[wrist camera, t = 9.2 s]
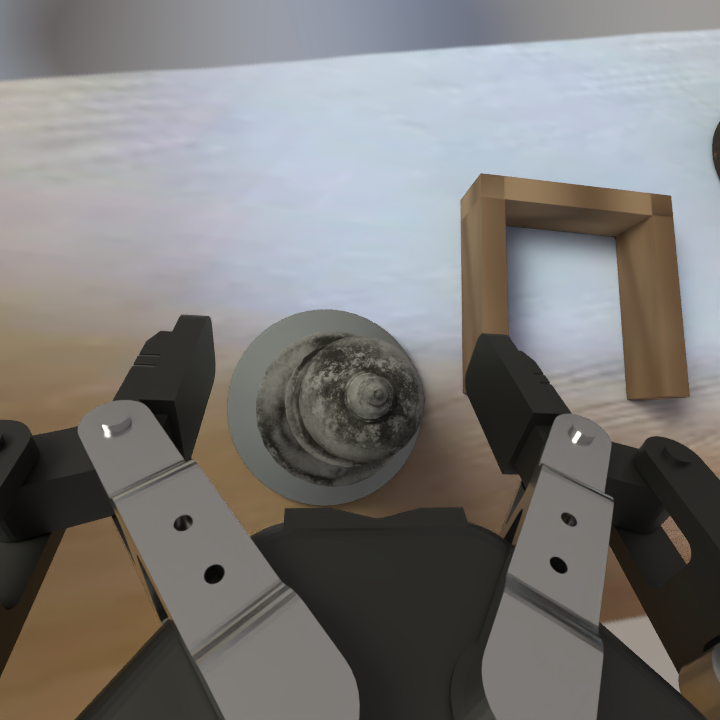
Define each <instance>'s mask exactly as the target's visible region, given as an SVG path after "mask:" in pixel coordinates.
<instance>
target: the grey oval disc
mask: <svg viewBox="0 0 720 720" xmlns="http://www.w3.org/2000/svg"><path fill="white" fill-rule="evenodd" d="M325 331H343V332H348V333H354V334H358V335H360V336H367V337H372V338H378V339H381V340H383V341H386V342H388V343H390V344H392V345H394V346H395V347H397V348H398V349H399V350H400V351H401V352H403V353H404V354H405V355H406V356H407V354H406V352H405V351H404V349H403V348H402V347H401V346H400V344H399V343H398V342H397V341H396V340H395V339H394V338H393V337H392V336H391V335H390V334H389V333H388V332H387V331H385V330H384V329H383V328H381V327H380V326H379V325H377V324H375V323H373V322H372V321H370V320H368V319H366V318H363V317H361V316H358V315H356V314H352V313H349V312H345V311H338V310H313V311H306V312H302V313H298V314H294V315H292V316H290V317H287V318H285V319H282V320H281V321H279V322H277V323H275V324H273V325H272V326H270V327H269V328H268V329H266V330H265V331H264V332H262V333H261V334H260V335H259V336H258V337H257V338H256V339H255V340H254V341H253V342H252V343H251V345H250V346H249V347H248V348H247V350H246V351H245V352H244V354H243V356H242V357H241V359H240V361H239V362H238V364H237V366H236V369H235V371H234V373H233V376H232V380H231V383H230V387H229V393H228V400H227V416H228V423H229V429H230V433H231V437H232V440H233V443H234V445H235V447H236V450H237V452H238V454H239V456H240V457H241V459H242V460H243V462H244V464H245V465H246V466H247V468H248V469H249V470H250V471H251V473H252V474H253V475H254V476H255V477H256V478H257V479H258V480H259V481H260V482H262V483H263V484H264V485H265V486H267V487H268V488H270V489H271V490H272V491H274V492H276V493H278V494H280V495H282V496H284V497H285V498H288V499H291V500H294V501H297V502H300V503H305V504H310V505H324V506H325V505H338V504H343V503H348V502H352V501H354V500H357V499H360V498H363V497H365V496H367V495H369V494H371V493H373V492H374V491H376V490H377V489H379V488H380V487H382V486H383V485H385V484H386V483H387V482H388V481H389V480H390V479H391V478H392V477H393V476H395V474H396V473H397V472H398V471H399V470H400V469H401V467H402V466H403V465H404V463H405V462H406V460H407V459H408V457H409V455H410V453H411V451H412V449H413V447H414V445H415V443H416V440H417V437H418V434H419V430H420V425H419V427H418V430H417V432H416V433H415V435H414V436H413V437H412V439H411V440H410V441H409V443H408V444H407V445H406V446H405V447H403V448H402V449H401V450H400V451H398V452H397V453H396V454H395V455H394V457H393V458H392V460H391V461H390V462H389V463H388V464H387V465H386V466H385V467H383V468H382V469H381V470H380V471H378V472H377V473H376V474H375V475H373V476H372V477H369V478H367V479H365V480H362V481H360V482H358V483H355V484H352V485H345V486H338V487H328V486H321V485H313V484H310V483H308V482H306V481H303V480H301V479H299V478H296V477H294V476H292V475H291V474H290V473H289V472H287V471H286V470H285V469H284V468H282V467H281V466H280V465H279V464H277V463H276V461H275V460H274V458H273V457H272V456H271V454H270V453H269V451H268V450H267V449H266V447H265V446H264V443H263V440H262V438H261V435H260V432H259V429H258V427H257V417H256V400H257V395H258V389H259V384H260V382H261V380H262V378H263V376H264V374H265V372H266V370H267V368H268V366H269V364H270V363H271V362H272V361H273V360H274V359H275V358H276V356H277V355H278V354H279V353H280V352H281V351H282V350H283V349H284V348H286V347H287V346H289V345H290V344H292V343H293V342H295V341H296V340H298V339H299V338H302V337H305V336H308V335H311V334H314V333H316V332H325ZM407 357H408V356H407ZM408 358H409V357H408ZM409 360H410V359H409ZM410 361H411V360H410ZM420 424H421V422H420Z"/></svg>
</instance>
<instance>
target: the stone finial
mask: <svg viewBox="0 0 720 720" xmlns="http://www.w3.org/2000/svg"><path fill="white" fill-rule="evenodd" d="M424 401H425V400H424V393H423V385H422V382H421V380H420V377H419V375H418V372H417V370H416V368H415V367H414V365H413V364H412V363H411V361H410V360H409V358H408V357H407V356H406V355H405V354H404V353H403V352H401V351H400V350H399V349H398V348H397V347H395V346H394V345H392V344H390V343H388V342H386V341H383V340H381V339H378V338H372V337H367V336H360V335H358V334H354V333H348V332H343V331H325V332H316V333H314V334H311V335H308V336H305V337H302V338H299V339H298V340H296V341H295V342H293V343H292V344H290V345H289V346H287V347H286V348H284V349H283V350H282V351H281V352H280V353H279V354H278V355H277V356H276V358H275V359H274V360H273V361H272V362H271V363H270V364H269V366H268V368H267V370H266V372H265V374H264V376H263V378H262V380H261V382H260V384H259V389H258V395H257V400H256V417H257V427H258V429H259V432H260V435H261V438H262V440H263V443H264V446H265V447H266V449H267V450H268V451H269V453H270V454H271V456H272V457H273V458H274V460H275V461H276V463H277V464H279V465H280V466H281V467H282V468H284V469H285V470H286V471H287V472H289V473H290V474H291V475H292V476H294V477H296V478H299V479H301V480H303V481H306V482H308V483H310V484H313V485H321V486H328V487H338V486H345V485H352V484H355V483H358V482H360V481H362V480H365V479H367V478H369V477H372V476H373V475H375V474H376V473H377V472H378V471H380V470H381V469H382V468H383V467H385V466H386V465H387V464H388V463H389V462H390V461H391V460H392V458H393V457H394V455H395V454H396V453H397V452H398V451H400V450H401V449H402V448H403V447H405V446H406V445H407V444H408V443H409V441H410V440H411V439H412V437H413V436H414V435H415V433H416V432H417V430H418V427H419V425H420V422H421V419H422V417H423V409H424Z"/></svg>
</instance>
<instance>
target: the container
mask: <svg viewBox="0 0 720 720" xmlns="http://www.w3.org/2000/svg"><path fill="white" fill-rule="evenodd" d="M712 146H713V159H714V163H715V167H716V169H717V172H718V175H719V177H720V122H719V124H718V126H717V128H716V130H715V133H714V137H713V145H712Z"/></svg>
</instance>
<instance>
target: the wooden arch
mask: <svg viewBox="0 0 720 720" xmlns="http://www.w3.org/2000/svg"><path fill="white" fill-rule="evenodd" d="M506 226H515V227H525V228H535V229H545V230H555V231H565V232H575V233H585V234H595V235H605V236H615V237H616V250H617V264H618V278H619V292H620V306H621V320H622V335H623V349H624V363H625V377H626V391H627V399H638V400H653V399H668V398H684V397H690V394H689V383H688V372H687V362H686V351H685V340H684V330H683V319H682V308H681V297H680V287H679V276H678V265H677V255H676V244H675V233H674V222H673V212H672V201H671V196H668V195H660V194H652V193H643V192H635V191H626V190H618V189H609V188H601V187H592V186H584V185H575V184H567V183H558V182H550V181H541V180H533V179H524V178H516V177H507V176H499V175H490V174H482V173H481V174H480V175H479V176H478V178H477V179H476V180H475V182H474V183H473V184H472V186H471V187H470V188H469V190H468V191H467V193H466V194H465V195H464V197H463V198H462V199H461V265H462V348H463V393H466V389H465V375H466V371H467V368H468V365H469V362H470V359H471V357H472V354H473V351H474V348H475V345H476V342H477V339H478V337H479V336H480V335H481V334H482V333H489V334H506V335H508V336H509V326H508V292H507V257H506Z"/></svg>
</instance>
